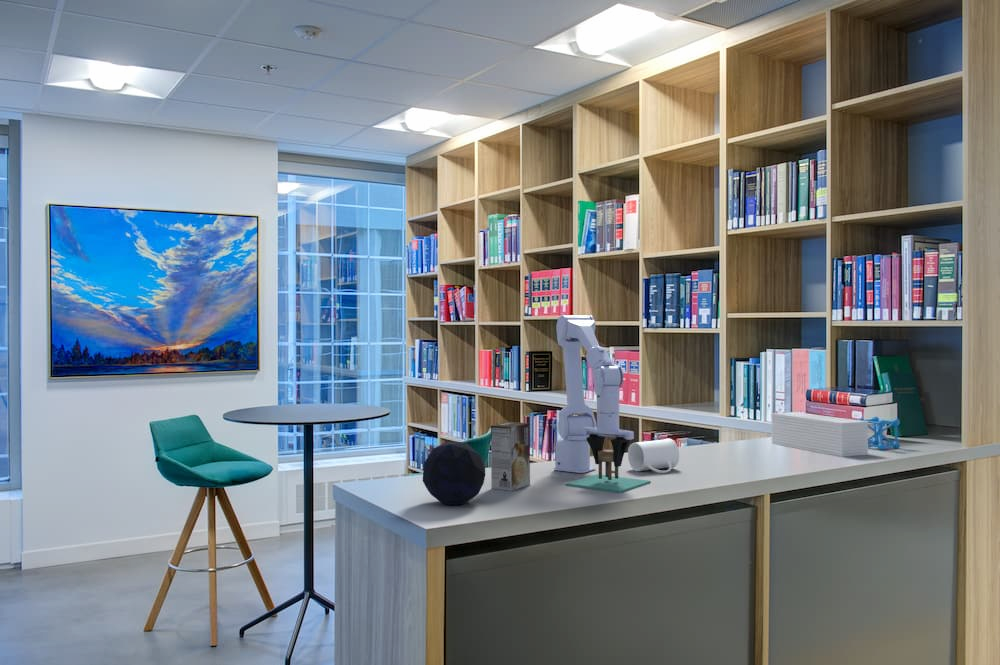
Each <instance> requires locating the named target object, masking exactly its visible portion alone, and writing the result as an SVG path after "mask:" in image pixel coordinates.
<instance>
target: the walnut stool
mask: <svg viewBox="0 0 1000 665" xmlns="http://www.w3.org/2000/svg"><path fill="white" fill-rule="evenodd" d="M598 461H599V464H598V474H599V479H602V475H603V463H605V471H604V472H605V474H604V475H605V477H608V480H612V476H613V475H614V476H615V478H616V479H618V477H619V467H614V470H612V466H613V465H612V463H614V452H613V449H603V450H599V451H598ZM612 474H613V475H612Z"/></svg>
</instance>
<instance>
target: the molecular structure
mask: <svg viewBox="0 0 1000 665" xmlns="http://www.w3.org/2000/svg"><path fill="white" fill-rule="evenodd" d="M856 420H860V421H868V424H867V425H868V427H867V428H868V429H870V431H872V432H874V434H872V435H871V436H869V437H868V447H874V448H877V449H878V450H880V451H884V450H885V449H886V448H893V449H899V448H900V447H901V445H900V444H901V443H900V442H899V441H898V426H899V425H900V424H901V421H900V419H899V418H894V419H892V420H890V419H881V418H879V417H878V416H875V415H874V416H873V417H872V418H870V419H869V418H868V419H867V418H866V419H864V418H863V417H859V418H857V419H856ZM869 424H872V425H874V426H870V425H869ZM886 425H887V426H886ZM892 426H894V441H893V440H891V439H890V438H888V437H887V436H885V435H884V434H883V433H884V432H885V431H886V430H888V429H889V428H891V427H892ZM883 439H885V441H888V442H884V440H883Z"/></svg>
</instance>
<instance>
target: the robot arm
mask: <svg viewBox="0 0 1000 665" xmlns="http://www.w3.org/2000/svg"><path fill="white" fill-rule="evenodd" d="M595 332H596V320H595V318H594V316H593V315H592V314H588V315H565V314H560V316H559V317H558V319H557V323H556V340H557V344H558V346H560V347H561V348H562V354H563V364H564V365H563V366H564V377H565V378H564V379H565V389H566V402H567V404H566V405H565V406H564V407H563V408H562V409H561V410H560V411H559V412H558V422H557V431H558V434H559V436H560V438H558V440H557V441H556V444H555V448H554V449H555V450H554V452H555V455H554V459H555V462H554V463H555V467H554V468H553V470H554V471H562V472H569V473H578V474H584V473H587V472H591V471H594V470H595V471H596V470H597V467H594V466H593V467H592V466H591V452H592V456H593V459H594V463H595V465H599V461H598V451H599V450H604V444H605V439H606V438H613V439H611V440H610V443H611V446H612V450H613V452H614V462H613V466H614V468H615V467H618V468H619V467H622V464H623V458H624V455H625V453H626V450H627V448H628V447H629V444H630V442H631V440H634V439H635V432H634V430H633V431H632V430H626V429H620V388H621V387H622V386H623V383H624V372H623V369H622V367H621V365H619V364H616V363H613V361H612V359H611V357H610V355H609V354H608V351H607V349H606V348H604V346H600V343H599V342H598V340H597V337H596V334H595ZM582 347H583V348H584V350H585V351H586V355H585V359H586V361H587V363H588V365H589V367H590V369H591V371H592V373H593V375H592V382H593V386H594V394H595V395H596V418H595V415H594V410H593V409H592V408H591V407H589V406H588V405H587V404H586V403H585V392H584V379H583V378H584V377H583V369H582V367H583V366H582V358H581V356H582V355H581V349H582Z"/></svg>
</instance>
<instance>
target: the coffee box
mask: <svg viewBox="0 0 1000 665" xmlns="http://www.w3.org/2000/svg"><path fill="white" fill-rule="evenodd" d="M530 449H531V448H530V422H519V421H518V422H515V421H507V422H502V423H498V424H492V425H490V456H491V457H490V460H491V461H490V465H491V466H490V468H491V469H490V470H491V472H490V474H491V489H493V490H501V491H508V492H509V491H510V492H513V491H516V490H518V489H521V488H524V487H527V486H529V485H531V472H530V471H531V469H530V468H531V462H530V460H531V459H530V456H531V454H530V453H531V452H530Z"/></svg>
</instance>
